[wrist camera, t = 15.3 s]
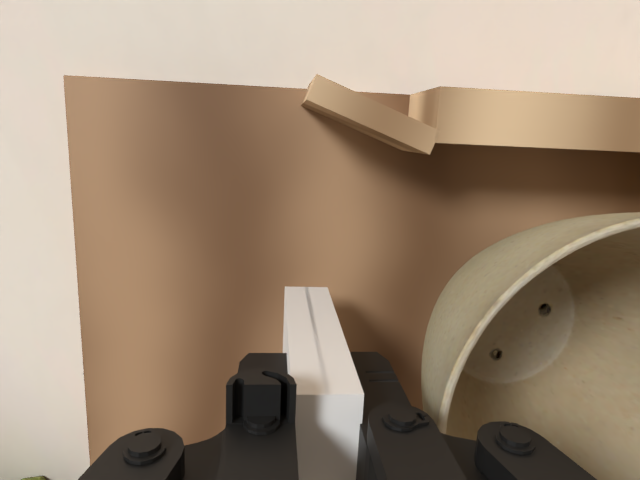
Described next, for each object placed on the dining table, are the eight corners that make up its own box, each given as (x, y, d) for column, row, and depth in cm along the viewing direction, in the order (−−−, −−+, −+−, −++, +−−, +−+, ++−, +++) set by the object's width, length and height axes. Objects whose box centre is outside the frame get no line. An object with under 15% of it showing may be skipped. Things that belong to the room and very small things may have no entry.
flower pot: (658, 361, 19) (880, 495, 12) (434, 470, 19) (524, 663, 12) (583, 131, 17) (805, 131, 10) (327, 258, 17) (365, 348, 10)
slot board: (101, 475, 19) (49, 578, 15) (76, 74, 16) (-1, 52, 11) (615, 463, 21) (703, 549, 17) (688, 109, 18) (822, 102, 13)
